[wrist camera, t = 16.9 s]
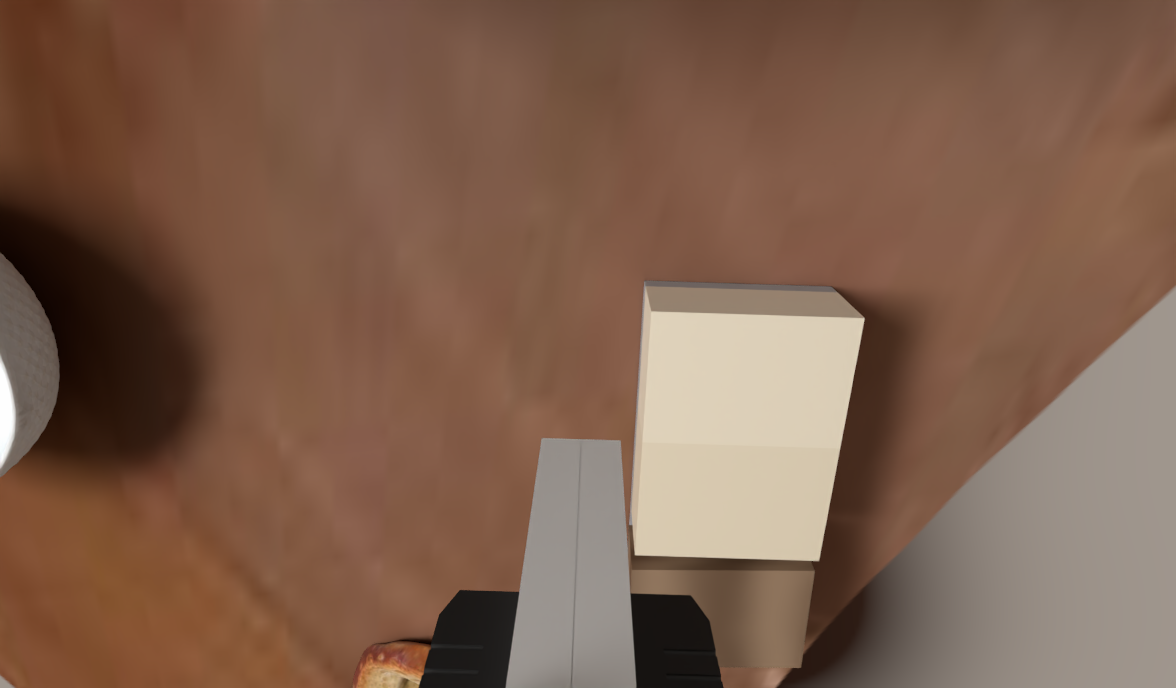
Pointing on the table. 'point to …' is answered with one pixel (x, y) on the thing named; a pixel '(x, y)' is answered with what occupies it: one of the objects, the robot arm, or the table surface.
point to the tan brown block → (737, 602)
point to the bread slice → (392, 665)
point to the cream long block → (739, 418)
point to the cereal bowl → (24, 367)
